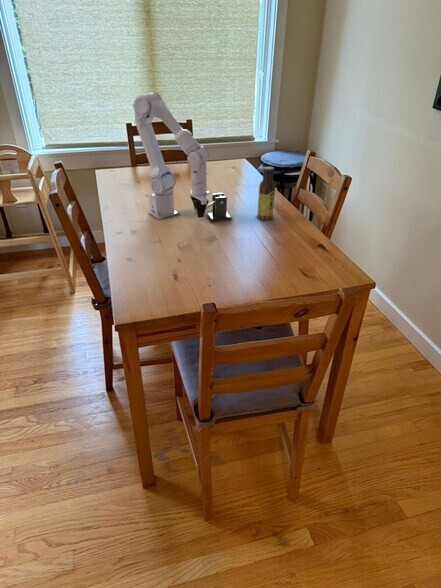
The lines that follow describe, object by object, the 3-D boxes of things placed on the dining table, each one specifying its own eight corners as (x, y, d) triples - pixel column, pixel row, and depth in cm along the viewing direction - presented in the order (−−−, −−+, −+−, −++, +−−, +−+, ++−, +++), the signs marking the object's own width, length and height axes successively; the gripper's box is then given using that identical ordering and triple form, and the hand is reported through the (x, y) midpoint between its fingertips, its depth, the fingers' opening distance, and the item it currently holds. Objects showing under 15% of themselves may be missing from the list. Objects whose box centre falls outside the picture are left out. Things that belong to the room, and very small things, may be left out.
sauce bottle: (271, 221, 160) (276, 171, 149) (256, 220, 161) (259, 170, 150) (273, 215, 165) (277, 166, 154) (258, 213, 166) (261, 164, 155)
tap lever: (198, 217, 158) (195, 211, 156) (196, 214, 160) (193, 208, 158) (225, 202, 158) (222, 196, 156) (222, 199, 160) (220, 193, 158)
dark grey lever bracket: (211, 221, 159) (211, 199, 154) (207, 215, 164) (207, 193, 158) (231, 219, 161) (231, 197, 156) (226, 213, 166) (226, 191, 160)
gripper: (214, 186, 147) (214, 221, 154) (204, 174, 158) (204, 207, 166) (195, 188, 145) (196, 223, 153) (186, 176, 156) (187, 209, 164)
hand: (199, 215), depth 159 cm, fingers closed on tap lever, 3 cm apart
